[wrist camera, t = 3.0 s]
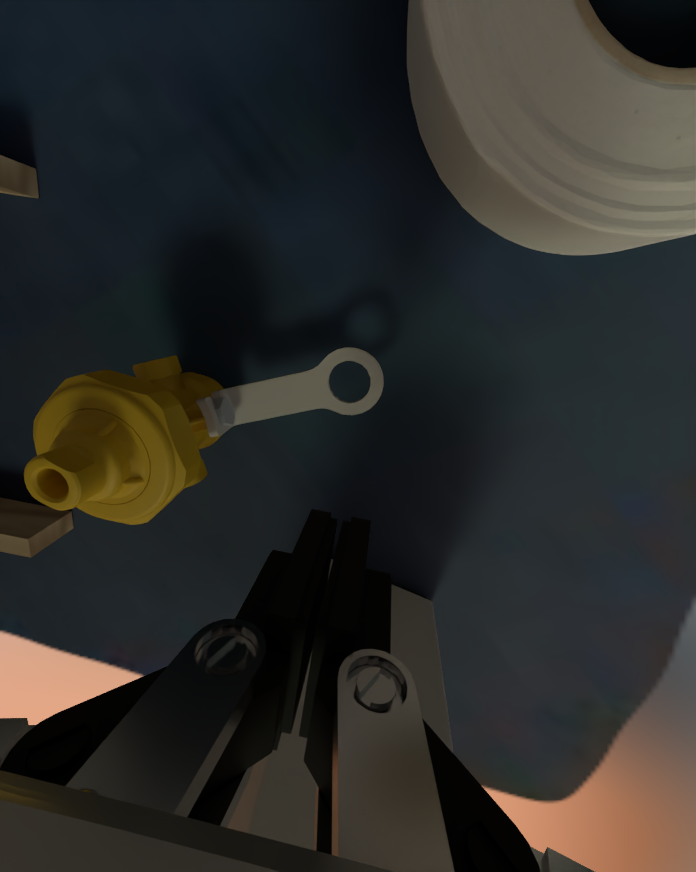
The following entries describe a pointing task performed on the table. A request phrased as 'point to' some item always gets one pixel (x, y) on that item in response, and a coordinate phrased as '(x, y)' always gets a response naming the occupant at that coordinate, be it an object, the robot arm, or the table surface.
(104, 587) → the table surface
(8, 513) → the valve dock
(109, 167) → the table surface
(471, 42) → the roll of tape
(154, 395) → the pressure relief valve
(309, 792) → the milk carton
